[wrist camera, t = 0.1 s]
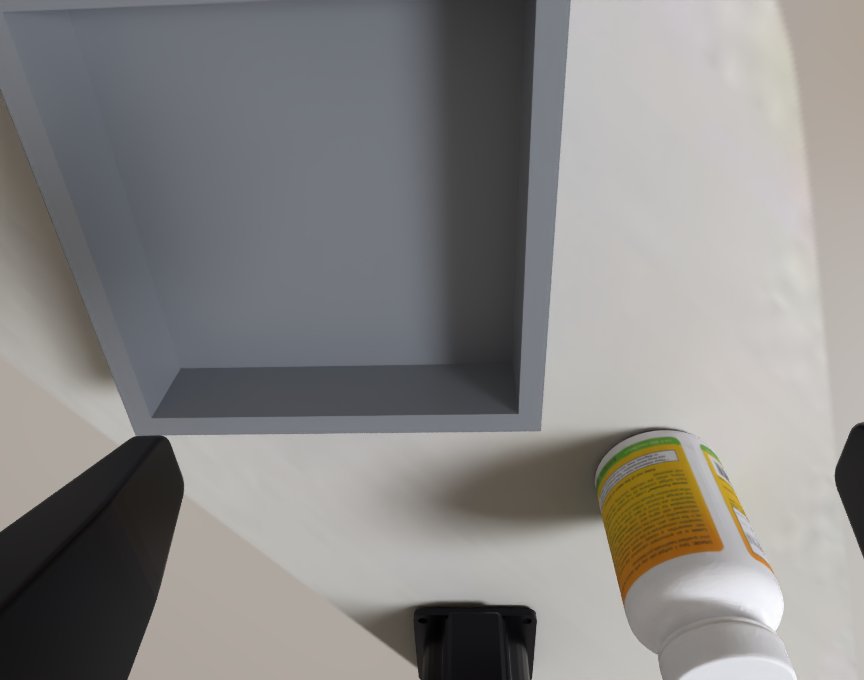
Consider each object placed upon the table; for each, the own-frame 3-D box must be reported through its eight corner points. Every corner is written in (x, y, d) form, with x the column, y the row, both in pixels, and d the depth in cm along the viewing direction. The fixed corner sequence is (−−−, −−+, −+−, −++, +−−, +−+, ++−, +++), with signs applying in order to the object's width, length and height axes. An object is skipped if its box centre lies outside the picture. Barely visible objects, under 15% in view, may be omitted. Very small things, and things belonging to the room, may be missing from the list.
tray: (530, 370, 26) (540, 431, 23) (171, 375, 27) (135, 435, 24) (554, -59, 18) (574, -52, 15) (37, -36, 18) (-44, -24, 15)
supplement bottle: (573, 498, 30) (617, 718, 22) (625, 412, 27) (698, 629, 19) (679, 523, 31) (760, 744, 23) (741, 442, 28) (859, 663, 20)
